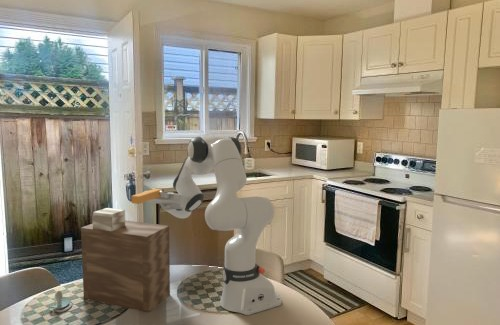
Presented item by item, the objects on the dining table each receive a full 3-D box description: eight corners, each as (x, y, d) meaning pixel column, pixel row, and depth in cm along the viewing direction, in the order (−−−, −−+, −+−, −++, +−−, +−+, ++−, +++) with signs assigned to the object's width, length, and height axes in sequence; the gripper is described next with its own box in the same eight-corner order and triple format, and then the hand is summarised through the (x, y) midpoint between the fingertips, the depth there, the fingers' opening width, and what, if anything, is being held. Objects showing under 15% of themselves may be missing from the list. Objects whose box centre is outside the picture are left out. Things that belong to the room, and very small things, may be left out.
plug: (156, 194, 171) (156, 188, 170) (163, 195, 169) (163, 188, 169) (131, 203, 154) (131, 195, 153) (139, 204, 153) (139, 196, 152)
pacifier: (76, 304, 137) (61, 302, 138) (76, 288, 137) (60, 286, 138) (62, 315, 130) (47, 312, 131) (62, 297, 129) (46, 295, 130)
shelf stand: (109, 283, 154) (106, 203, 150) (169, 294, 145) (168, 209, 141) (83, 298, 141) (80, 211, 137) (148, 312, 132) (146, 219, 128)
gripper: (152, 194, 183) (137, 183, 171) (190, 197, 176) (177, 187, 164) (149, 206, 181) (133, 197, 169) (187, 210, 174) (173, 201, 162)
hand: (155, 192), depth 166 cm, fingers closed on plug, 3 cm apart
